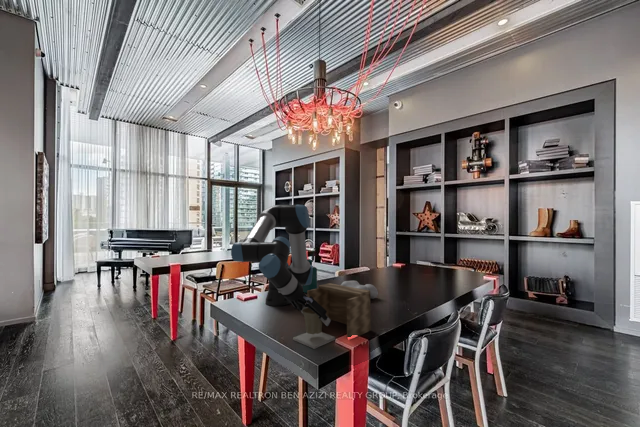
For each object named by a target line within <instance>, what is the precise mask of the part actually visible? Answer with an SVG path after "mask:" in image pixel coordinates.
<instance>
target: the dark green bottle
mask: <svg viewBox="0 0 640 427" xmlns="http://www.w3.org/2000/svg"><path fill="white" fill-rule="evenodd" d="M307 261H308V262H309V263H310V265H312V266H313V263H314V260H313V259H312V260H310V259H308V258H307ZM302 286H303V292H304V294H307V291H308V290H312V289H317V288H318V269H317V267H315V266H313V272H312V282H311V284H310V285H305V286H304V285H302Z"/></svg>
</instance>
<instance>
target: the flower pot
mask: <svg viewBox="0 0 640 427" xmlns="http://www.w3.org/2000/svg"><path fill="white" fill-rule="evenodd" d="M302 312H303V313H302ZM302 312H301V313H302V315H303V314H304V315H303V316H304V322H305V323H304V325H305V331H306V332H307V333H308V334H319V333H321V332H323V331H322V330H323V329H322V328H323V324H324V323H323V322H322V321H321V319H319V317H318V315H317V314H316V313H314V312H313V311H312V310H310V309H309V308H307V307H306V308H305V309H303V310H302ZM306 332H305V333H306Z"/></svg>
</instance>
